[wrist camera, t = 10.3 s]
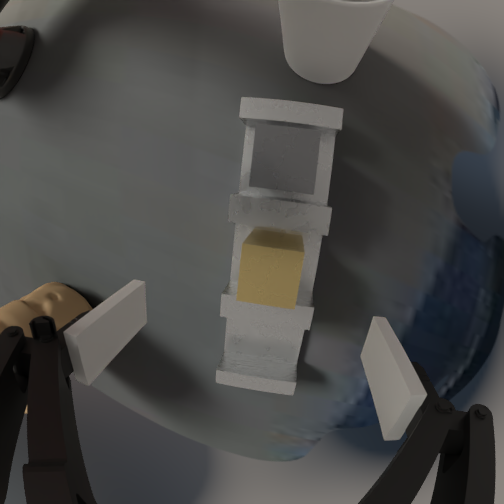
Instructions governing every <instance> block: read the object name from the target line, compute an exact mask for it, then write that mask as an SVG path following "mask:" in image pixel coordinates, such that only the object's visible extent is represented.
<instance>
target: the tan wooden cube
mask: <svg viewBox="0 0 504 504" xmlns="http://www.w3.org/2000/svg"><path fill="white" fill-rule="evenodd" d="M304 254H305V251H304V244H303V237H302V235H295V234H288V233H281V232H274V231H267V230H260V229H253V231H252V232H251V233H250V234H249V236H248V237H247V238H246V239H245V241H244V242H243V243H242V250H241V259H240V269H239V278H238V288H237V297H236V301H242V302H248V303H254V304H261V305H267V306H273V307H280V308H287V309H294V310H295V305H296V300H297V294H298V289H299V283H300V277H301V272H302V266H303V260H304Z"/></svg>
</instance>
